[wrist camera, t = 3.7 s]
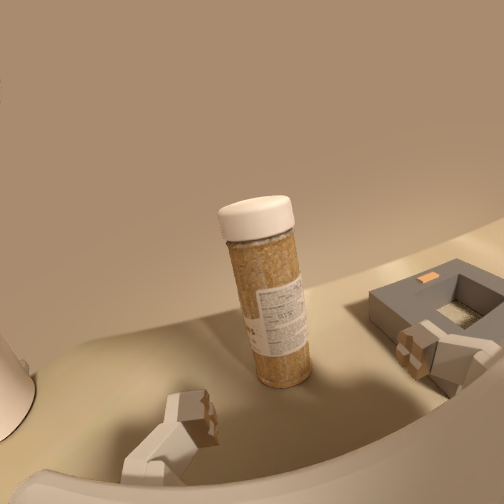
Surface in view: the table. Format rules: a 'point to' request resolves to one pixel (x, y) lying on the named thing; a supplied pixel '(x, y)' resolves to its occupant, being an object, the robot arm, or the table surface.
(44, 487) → the robot arm
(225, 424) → the table surface
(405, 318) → the square frame
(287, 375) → the sprinkles bottle
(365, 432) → the table surface
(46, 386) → the table surface
